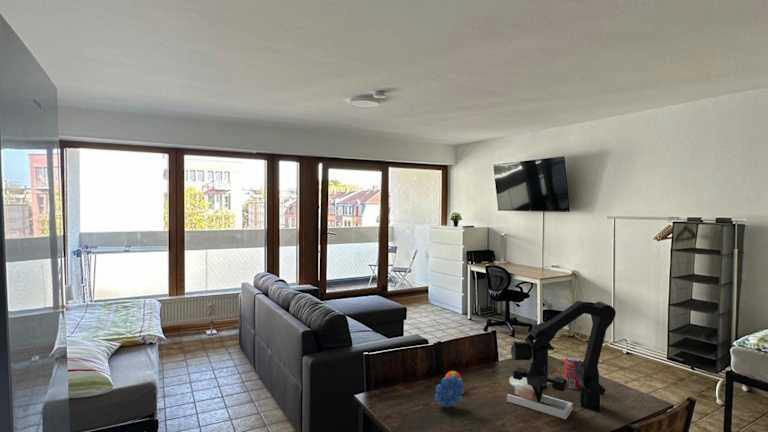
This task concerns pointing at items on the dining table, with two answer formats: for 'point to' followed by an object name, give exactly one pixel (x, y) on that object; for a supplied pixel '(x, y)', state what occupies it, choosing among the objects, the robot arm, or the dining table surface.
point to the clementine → (453, 374)
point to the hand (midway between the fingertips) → (538, 401)
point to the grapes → (449, 391)
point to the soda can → (571, 372)
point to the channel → (556, 408)
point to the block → (527, 394)
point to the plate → (519, 383)
